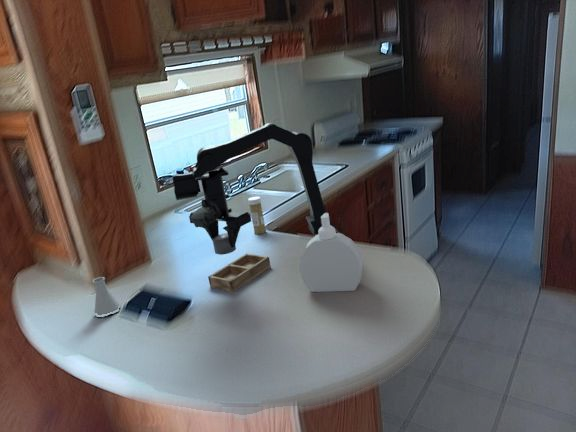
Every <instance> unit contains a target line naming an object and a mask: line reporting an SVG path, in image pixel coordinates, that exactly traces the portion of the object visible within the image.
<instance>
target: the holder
mask: <svg viewBox="0 0 576 432" xmlns="http://www.w3.org/2000/svg"><path fill="white" fill-rule="evenodd" d="M269 268H271V262H270V257H269V256H267V255H266V256H265V255H259V254H252V253H245V254H244V255H242V256H240V257H238V258H237V259H235V260H234V261H232V262H230V263H228V264H226V265H225V266H224V267H222V268H221V269H218V270H216V271H215V272H213V273H211V274H210V275H209V276H207V278H208V283H209V287H210V288H213V289H217V290H222V291H227V292H231V293H235V292H236V291H237V290H239V289H240V288H242V287H243V286H244V285H246V284H247V283H249V282H250V281H252V280H253V279H255V278H256V277H258V276H259V275H260V274H262V273H263V272H265V271H267V270H268V269H269Z"/></svg>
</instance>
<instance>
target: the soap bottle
mask: <svg viewBox="0 0 576 432" xmlns="http://www.w3.org/2000/svg"><path fill="white" fill-rule="evenodd" d="M329 217H330V216H329V212H327V213H324V214H323V215H322V216H321V222H322V227H321V228H320V229H319V231H318V235H314V236H313V237H312V238H311V239H310V240H309V241H308V242H307V244H306V247H305V248H304V249H303V252H302V255H301V256H300V260H299V261H300V262H299V273H300V275H301V279H302V281H303V283H304V284H305V286H306V287H307V288H308V290H309V291H310V292H311V293H323V292H324V293H326V292H327V293H328V292H329V293H331V292H332V293H333V292H354V291H356V290H357V288H358V287H359V284H360V283H361V281H362V280H361V279H362V274H363V264H364V262H363V261H364V260H363V257H362V253H361V250H360V248H359V247H358V246H357V244H356V243H355V242H354V241H353V240H352V239H351V238H350V237H348V236H346V235H344V234H343V233H341V232H339V233H336V231H335V229H336V228H334V227H335V226H334V227H333V226H331V225H330V221H329Z"/></svg>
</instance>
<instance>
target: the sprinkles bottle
mask: <svg viewBox="0 0 576 432" xmlns="http://www.w3.org/2000/svg"><path fill="white" fill-rule="evenodd" d="M247 200H248V202H247V203H248V205H249V210H250V216H251V222H252V225H253V233H254V234H255V235H262V234H265V233H266V231H267V229H266V225H265V218H264V213H263V208H262V198H261V197H260V196H253V197H252V196H251V197H249V198H248V199H247Z"/></svg>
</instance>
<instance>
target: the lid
mask: <svg viewBox="0 0 576 432" xmlns="http://www.w3.org/2000/svg"><path fill="white" fill-rule="evenodd" d="M212 240H213V241H212ZM211 241H212V244H213V249H214V253H215V255H221V256H223V255H227V254H231V253H233V252H235V251H236V249H237V247H236V245H235V247H233V248H231V245H230V242H229V238H228V233H227V232H226V233H221V234H220V233H219V235H217V236H215V237H213V239H211Z"/></svg>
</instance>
